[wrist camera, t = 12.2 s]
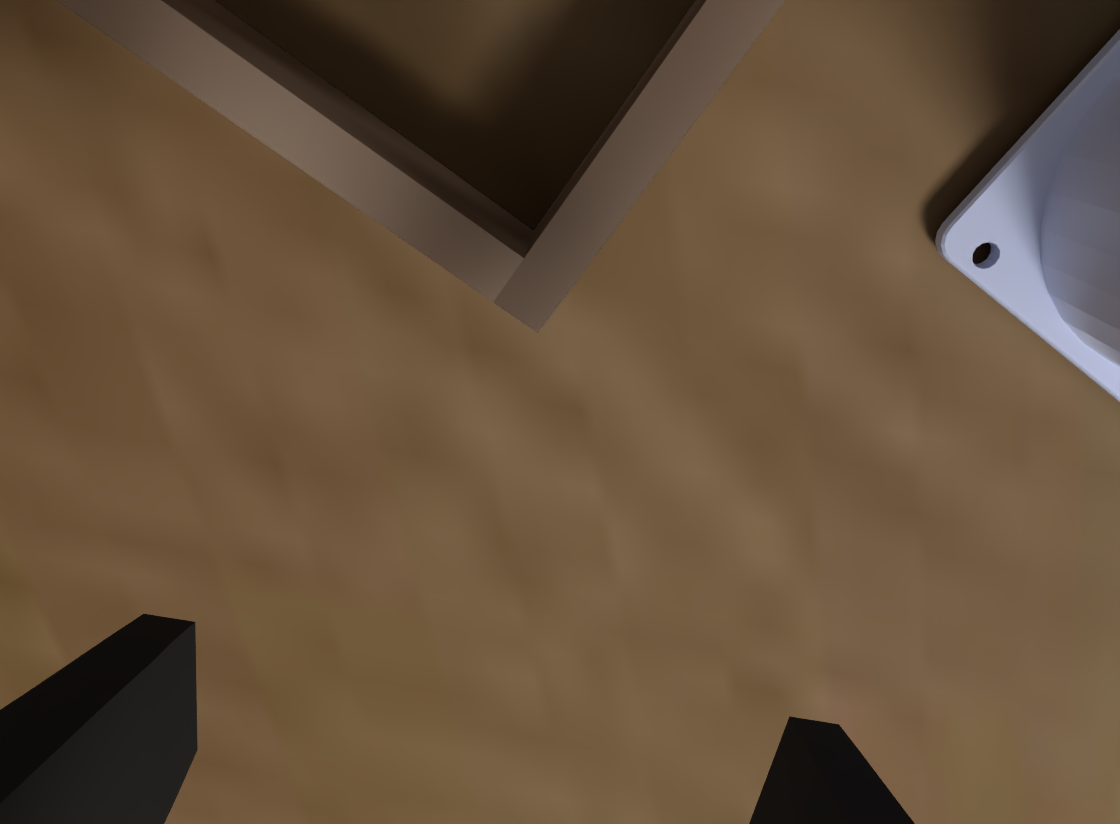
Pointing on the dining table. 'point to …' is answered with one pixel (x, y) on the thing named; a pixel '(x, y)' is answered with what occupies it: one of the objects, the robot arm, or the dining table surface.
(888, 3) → the dining table surface
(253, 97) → the brown u-shaped bracket
